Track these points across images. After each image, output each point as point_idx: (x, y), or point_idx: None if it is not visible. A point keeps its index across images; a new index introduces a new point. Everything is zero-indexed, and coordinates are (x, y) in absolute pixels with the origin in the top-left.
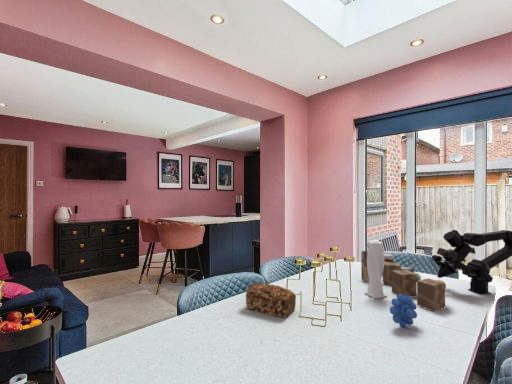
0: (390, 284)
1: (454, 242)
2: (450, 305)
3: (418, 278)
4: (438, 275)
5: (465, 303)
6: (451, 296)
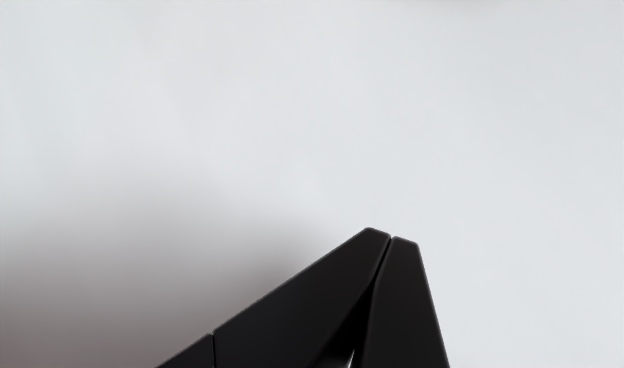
0: None
1: None
2: (95, 14)
3: None
4: (375, 241)
5: (42, 225)
6: None
